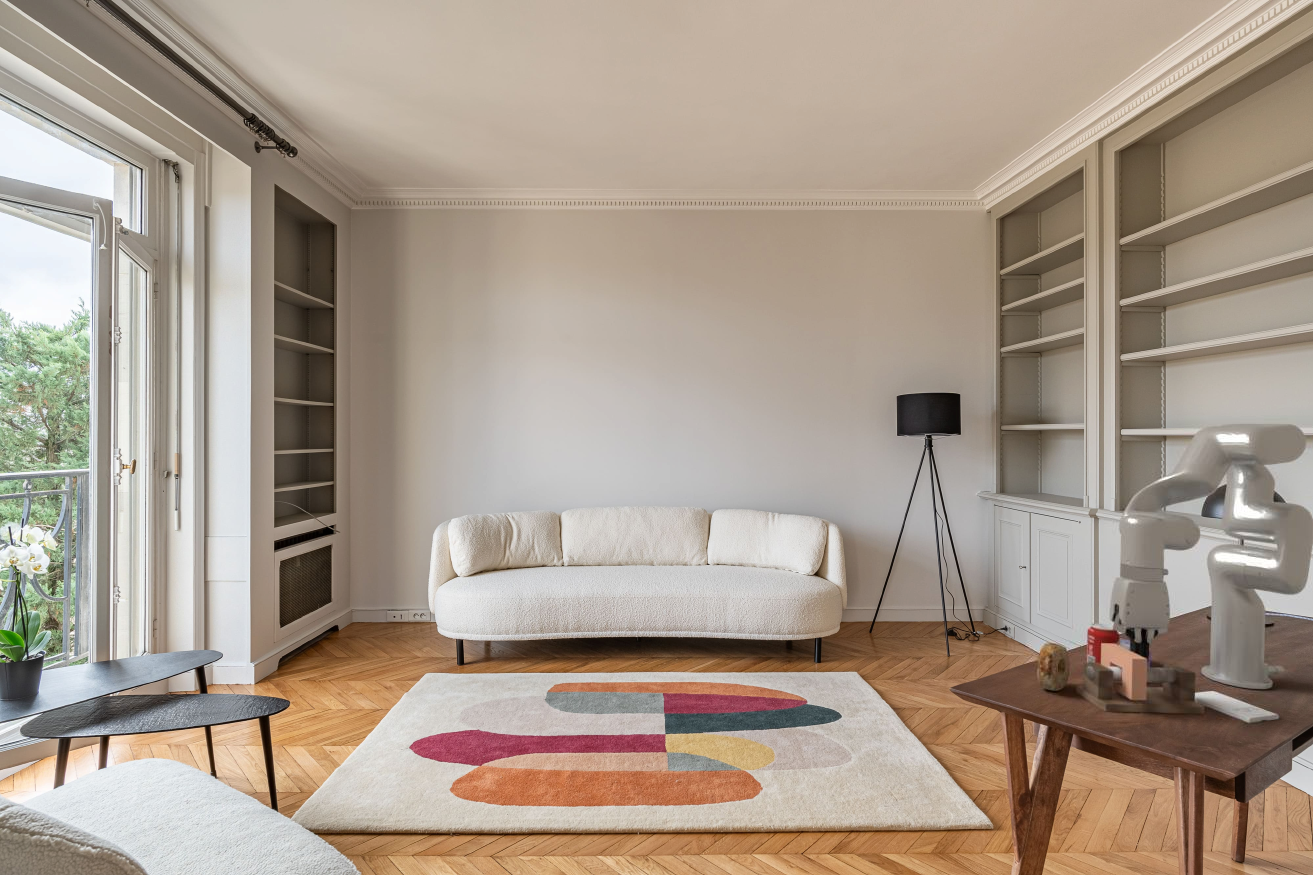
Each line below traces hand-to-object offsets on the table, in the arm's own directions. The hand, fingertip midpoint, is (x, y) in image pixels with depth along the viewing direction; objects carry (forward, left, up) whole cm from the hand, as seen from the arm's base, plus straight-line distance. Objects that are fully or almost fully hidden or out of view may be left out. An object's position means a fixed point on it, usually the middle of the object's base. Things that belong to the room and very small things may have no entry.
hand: (1139, 659), depth 143 cm
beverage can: (-2, -15, -10) cm, 18 cm away
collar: (+3, 0, -7) cm, 8 cm away
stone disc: (+14, -7, -10) cm, 18 cm away
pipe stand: (0, 0, -9) cm, 9 cm away
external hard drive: (-18, +2, -10) cm, 21 cm away
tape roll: (-13, -25, -10) cm, 30 cm away
